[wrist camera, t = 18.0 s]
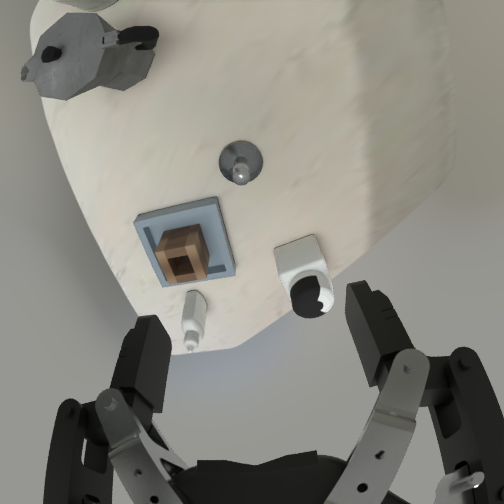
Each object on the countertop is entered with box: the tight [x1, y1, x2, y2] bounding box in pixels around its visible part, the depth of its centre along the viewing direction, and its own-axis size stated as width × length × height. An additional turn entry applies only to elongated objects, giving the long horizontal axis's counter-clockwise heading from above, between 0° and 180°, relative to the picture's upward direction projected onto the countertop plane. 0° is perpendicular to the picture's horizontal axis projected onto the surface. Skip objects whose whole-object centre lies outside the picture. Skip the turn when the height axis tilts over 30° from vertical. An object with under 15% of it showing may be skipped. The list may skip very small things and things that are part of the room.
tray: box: [133, 197, 235, 288], centre depth 43 cm, size 13×13×3 cm
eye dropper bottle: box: [181, 291, 207, 353], centre depth 46 cm, size 4×6×12 cm
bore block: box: [155, 223, 210, 285], centre depth 41 cm, size 6×6×6 cm
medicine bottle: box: [274, 235, 334, 318], centre depth 42 cm, size 7×7×12 cm
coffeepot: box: [21, 13, 159, 100], centre depth 20 cm, size 15×9×18 cm, turn 89°
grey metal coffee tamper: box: [219, 141, 263, 185], centre depth 34 cm, size 6×6×7 cm
